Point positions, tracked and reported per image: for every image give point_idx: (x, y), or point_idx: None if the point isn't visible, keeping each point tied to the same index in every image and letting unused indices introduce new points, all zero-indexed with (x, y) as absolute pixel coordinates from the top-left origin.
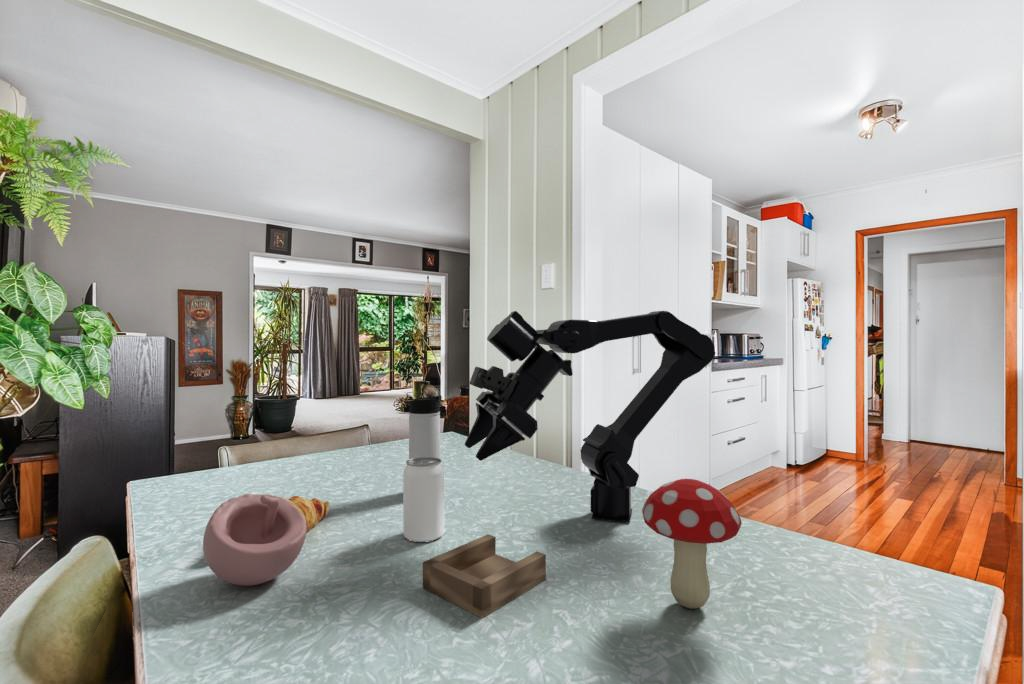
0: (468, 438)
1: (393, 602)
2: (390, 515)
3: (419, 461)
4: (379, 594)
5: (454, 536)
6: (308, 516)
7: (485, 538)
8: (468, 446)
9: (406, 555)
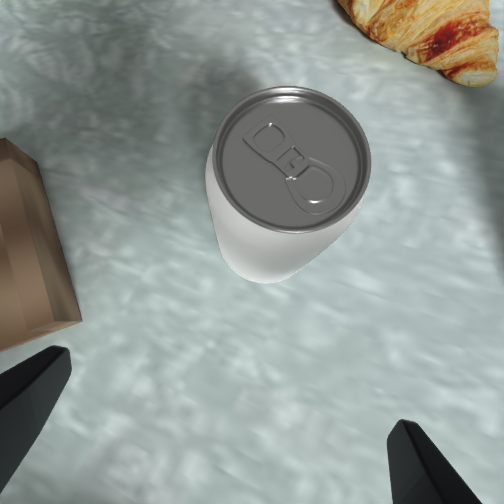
0: (421, 461)
1: (22, 111)
2: (421, 209)
3: (328, 153)
4: (61, 99)
5: (226, 298)
6: (389, 14)
7: (34, 304)
8: (392, 439)
9: (183, 177)
